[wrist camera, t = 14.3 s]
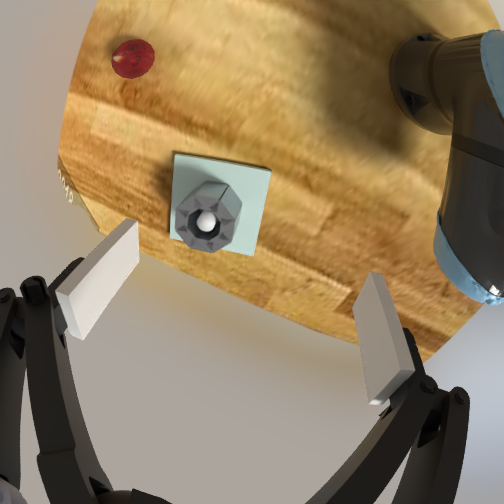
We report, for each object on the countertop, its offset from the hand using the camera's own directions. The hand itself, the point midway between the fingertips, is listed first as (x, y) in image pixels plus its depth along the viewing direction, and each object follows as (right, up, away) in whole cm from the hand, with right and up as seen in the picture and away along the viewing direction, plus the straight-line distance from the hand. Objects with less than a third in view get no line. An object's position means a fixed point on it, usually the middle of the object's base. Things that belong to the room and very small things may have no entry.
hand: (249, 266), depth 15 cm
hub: (-5, +7, +27) cm, 28 cm away
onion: (-15, +28, +17) cm, 36 cm away
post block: (-5, +8, +27) cm, 29 cm away
